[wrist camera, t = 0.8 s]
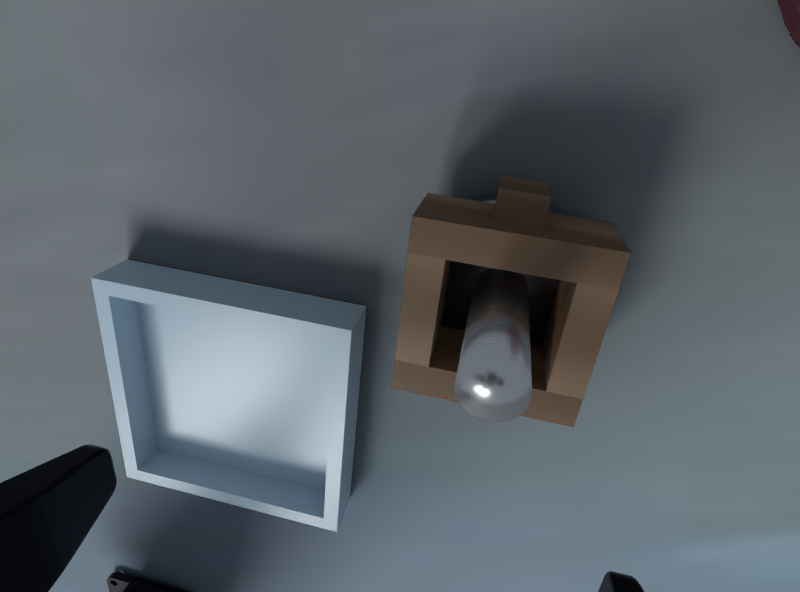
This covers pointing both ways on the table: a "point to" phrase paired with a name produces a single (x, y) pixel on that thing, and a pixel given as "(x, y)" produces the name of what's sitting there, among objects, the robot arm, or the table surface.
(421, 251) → the ring
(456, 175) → the table surface
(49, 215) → the table surface
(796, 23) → the vegetable
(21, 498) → the robot arm
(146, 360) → the tray
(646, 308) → the table surface
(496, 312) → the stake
